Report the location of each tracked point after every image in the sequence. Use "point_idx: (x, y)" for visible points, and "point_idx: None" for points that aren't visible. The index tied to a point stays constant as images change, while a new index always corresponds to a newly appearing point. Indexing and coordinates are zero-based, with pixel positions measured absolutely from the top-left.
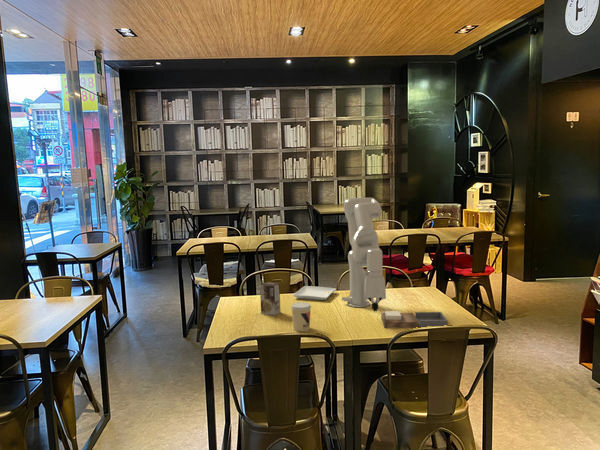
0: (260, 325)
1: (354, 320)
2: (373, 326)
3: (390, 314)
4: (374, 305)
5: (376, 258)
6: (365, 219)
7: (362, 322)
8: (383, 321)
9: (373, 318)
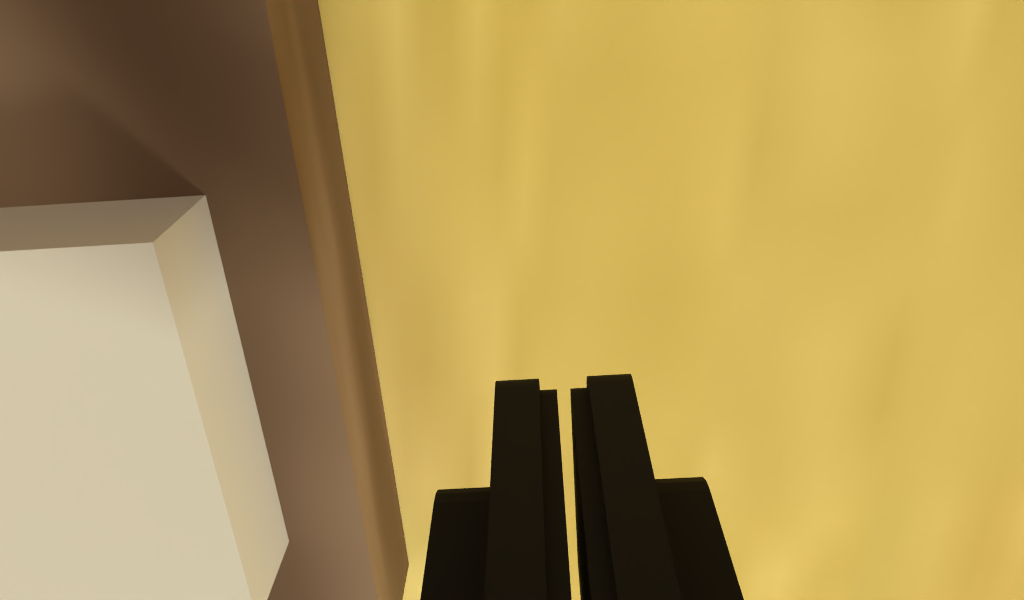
0: None
1: (1006, 448)
2: (606, 58)
3: (46, 368)
4: (627, 547)
5: None
6: None
7: (848, 334)
8: (323, 202)
9: (569, 570)
